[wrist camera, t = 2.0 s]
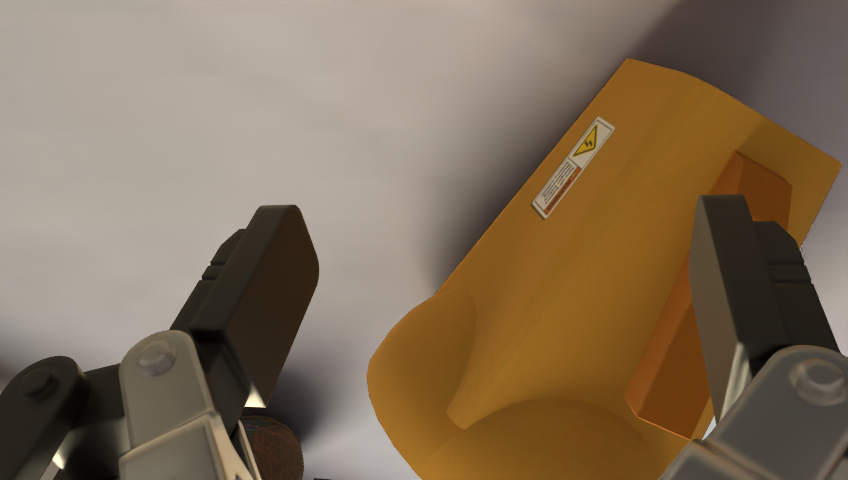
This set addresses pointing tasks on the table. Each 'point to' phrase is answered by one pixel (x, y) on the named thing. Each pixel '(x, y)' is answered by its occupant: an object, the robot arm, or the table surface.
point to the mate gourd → (274, 448)
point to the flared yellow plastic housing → (589, 294)
